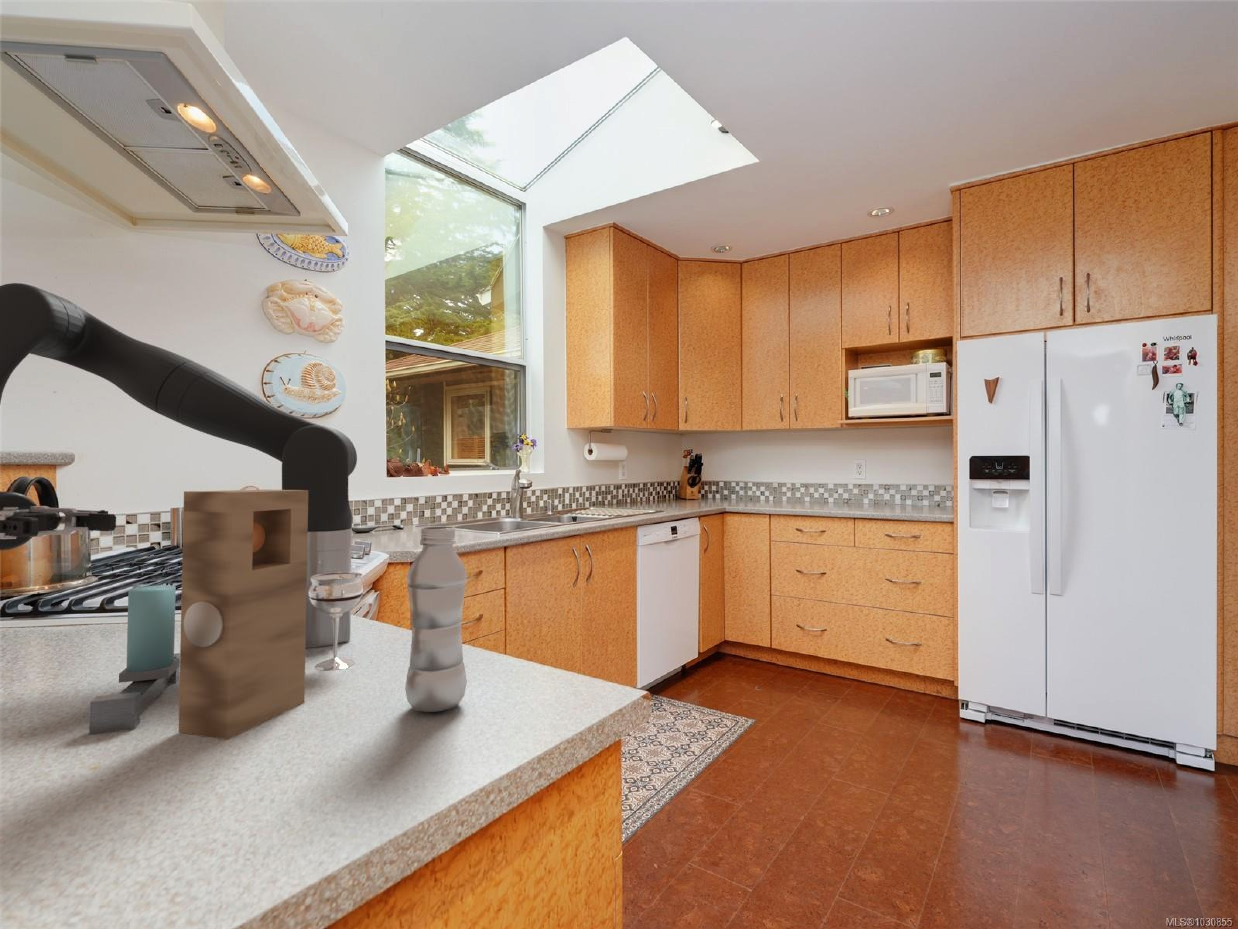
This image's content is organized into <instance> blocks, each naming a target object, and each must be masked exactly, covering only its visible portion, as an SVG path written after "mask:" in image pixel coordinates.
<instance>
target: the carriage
mask: <svg viewBox="0 0 1238 929" xmlns="http://www.w3.org/2000/svg"><path fill="white" fill-rule="evenodd" d="M176 588H177V586H176V585H169V584H168V585H167V584H164V585H163V584H162V585H149V586H148V585H146V586H140V587H135V588H130V589H129V590H127V591H128V592H127V593H128V594H127V595H128V596H127V633H126V634H127V635H126V640H127V641H126V668H124V669H123V670H122V671H121V672H119V673H118V684H119V683H121V684H122V683H129V682H130V683H132V682H133V681H142V680H152V679H162V678H169V677H170V676H171V675H172V674H173V672H174V671H175V670H176V669H177V668H178V667H179V666H180V658H174V654H175V634H176V633H175V631H176V630H175V628H176V625H175V624H176Z"/></svg>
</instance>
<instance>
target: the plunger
mask: <svg viewBox="0 0 1238 929" xmlns="http://www.w3.org/2000/svg"><path fill="white" fill-rule="evenodd" d="M264 541H265V531H264V529H263V527H262V526H261V525H260V524H258V523H253V553H254V552H256V551H258V550H259V549H260V548H261V547H262V546H263V544H264Z"/></svg>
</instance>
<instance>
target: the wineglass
mask: <svg viewBox="0 0 1238 929" xmlns="http://www.w3.org/2000/svg"><path fill="white" fill-rule="evenodd" d="M362 577H363V573H362V572H356V571H351V572H333V573H323V574H317V575H313V576H310V577H309V578H310V580H311V582H312V585H311V586H310V589H309V599H310V602H311V604H312V605H313V606H314V607H316V608H317V609H318V610H319V611H321V612H324V613H326V614H329V616H330V618H333V644H332V646H333V647H332V649H333V650H332V652H333V657H332V658H329V659H327V660H323V661H321V662H318V663H317V664H315V665H314V668H315V669H316V670H319V671H335V670H341V669H346V668H348V667H349V668H350V667H352V666H353V665H354V664H355V663H356V661H355V660H353V659H349V658H344V657H343V658H341V657H338V655H337V654H338V643H337V642H338V626H339V617H341V616H342V615H343V614H342V613H344V612H346V611H348V610H350V609H351V610H352V609H353V608H355V606H356V605H357V604H358V603H359V602H360V601H361V598H362V596H363V594H364V592H363V591H364V587H363V583H362V582H361V579H362Z"/></svg>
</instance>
